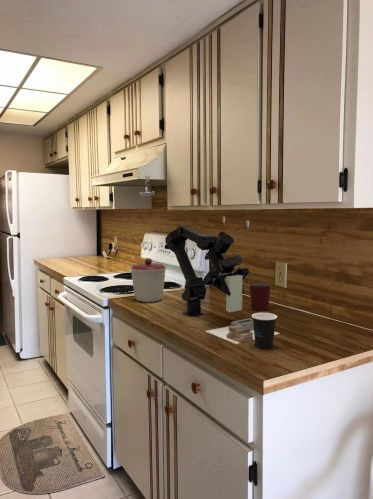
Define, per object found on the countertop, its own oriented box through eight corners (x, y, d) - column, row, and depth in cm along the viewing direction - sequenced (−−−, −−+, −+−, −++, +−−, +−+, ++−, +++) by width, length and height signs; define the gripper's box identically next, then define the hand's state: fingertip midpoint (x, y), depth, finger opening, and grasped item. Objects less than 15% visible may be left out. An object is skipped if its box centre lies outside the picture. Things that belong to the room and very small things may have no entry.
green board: (226, 311, 151) (226, 276, 150) (238, 308, 154) (238, 275, 153) (229, 312, 149) (229, 277, 148) (242, 309, 152) (242, 275, 151)
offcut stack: (226, 337, 138) (226, 327, 138) (239, 334, 141) (239, 324, 141) (240, 343, 132) (240, 332, 132) (254, 339, 135) (254, 329, 135)
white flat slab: (205, 334, 146) (205, 322, 145) (247, 325, 156) (247, 314, 156) (236, 347, 131) (236, 334, 131) (279, 336, 142) (280, 325, 142)
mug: (242, 306, 188) (242, 282, 187) (258, 304, 192) (258, 281, 191) (257, 312, 177) (257, 287, 176) (274, 310, 181) (274, 285, 180)
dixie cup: (277, 346, 132) (277, 313, 131) (276, 354, 124) (276, 319, 123) (252, 344, 134) (252, 311, 133) (250, 352, 126) (250, 318, 125)
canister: (124, 299, 204) (123, 257, 202) (154, 295, 215) (154, 255, 213) (142, 306, 190) (141, 261, 188) (174, 301, 200) (173, 258, 198)
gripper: (207, 249, 148) (226, 284, 139) (246, 246, 158) (266, 278, 150) (195, 268, 155) (212, 302, 147) (233, 264, 165) (251, 296, 157)
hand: (236, 294), depth 150 cm, fingers closed on green board, 6 cm apart
